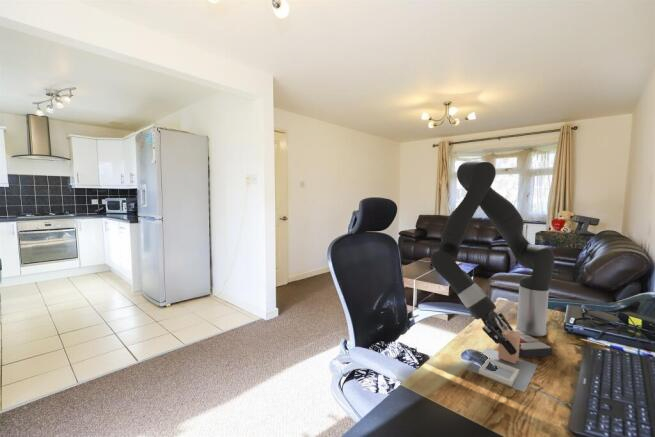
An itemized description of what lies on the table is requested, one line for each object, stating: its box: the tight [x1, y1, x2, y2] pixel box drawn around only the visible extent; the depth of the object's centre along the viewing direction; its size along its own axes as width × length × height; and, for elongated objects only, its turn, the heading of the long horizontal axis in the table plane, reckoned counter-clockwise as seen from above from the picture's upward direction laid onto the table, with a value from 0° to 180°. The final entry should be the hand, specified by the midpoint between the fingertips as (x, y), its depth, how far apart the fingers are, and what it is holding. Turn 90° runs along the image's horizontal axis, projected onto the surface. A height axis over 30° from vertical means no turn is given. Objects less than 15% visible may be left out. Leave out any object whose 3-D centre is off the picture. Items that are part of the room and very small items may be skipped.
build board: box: [467, 347, 539, 393], centre depth 88 cm, size 18×14×2 cm
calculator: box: [495, 328, 554, 358], centre depth 102 cm, size 11×4×15 cm
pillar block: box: [498, 329, 520, 364], centre depth 91 cm, size 4×4×8 cm
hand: (516, 350), depth 90 cm, fingers closed on pillar block, 4 cm apart
